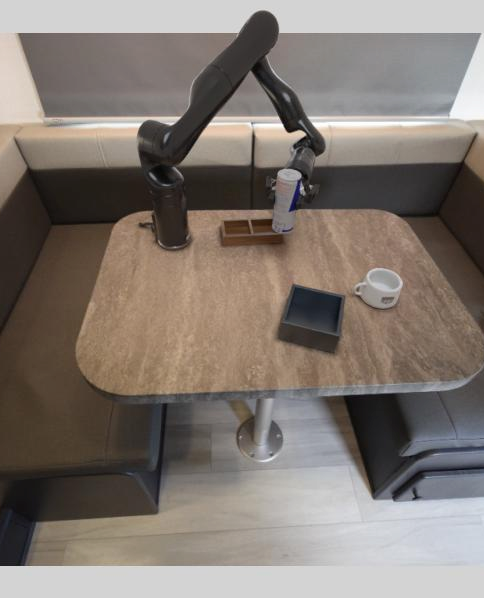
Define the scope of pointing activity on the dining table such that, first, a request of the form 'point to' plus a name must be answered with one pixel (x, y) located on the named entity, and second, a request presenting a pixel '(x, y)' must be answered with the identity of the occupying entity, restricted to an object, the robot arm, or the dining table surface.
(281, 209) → the beverage can
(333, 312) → the dark gray square box
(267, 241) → the wooden divided tray
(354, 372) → the dining table surface
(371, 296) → the mug
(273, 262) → the dining table surface
